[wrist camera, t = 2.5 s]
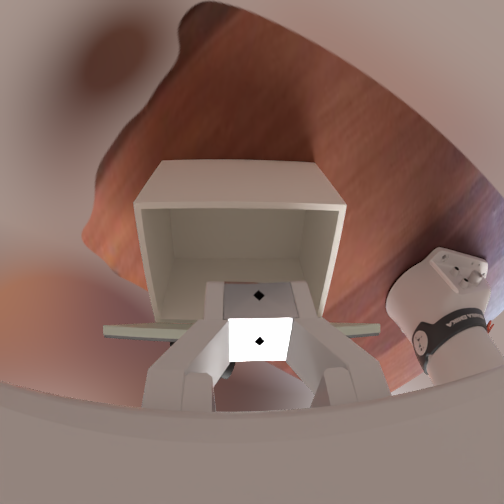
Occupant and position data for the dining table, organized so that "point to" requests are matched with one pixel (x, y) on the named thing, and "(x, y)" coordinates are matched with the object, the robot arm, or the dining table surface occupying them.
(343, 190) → the dining table surface
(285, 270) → the carton
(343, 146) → the dining table surface
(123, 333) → the lid flap
